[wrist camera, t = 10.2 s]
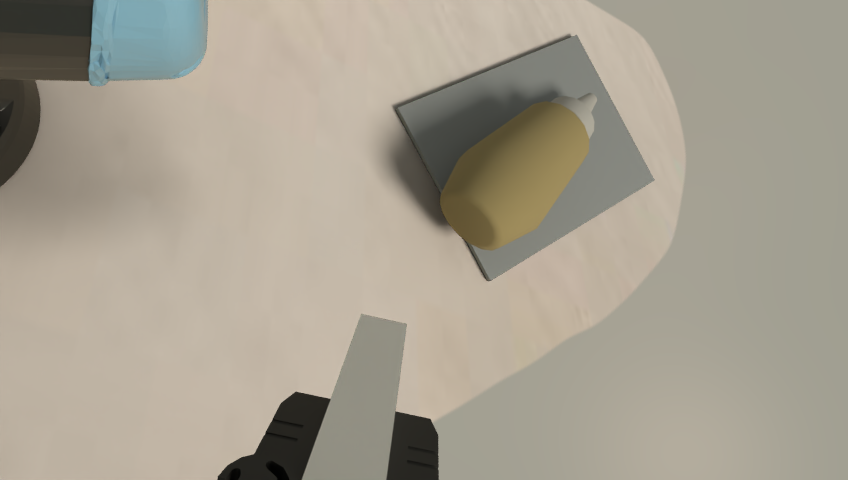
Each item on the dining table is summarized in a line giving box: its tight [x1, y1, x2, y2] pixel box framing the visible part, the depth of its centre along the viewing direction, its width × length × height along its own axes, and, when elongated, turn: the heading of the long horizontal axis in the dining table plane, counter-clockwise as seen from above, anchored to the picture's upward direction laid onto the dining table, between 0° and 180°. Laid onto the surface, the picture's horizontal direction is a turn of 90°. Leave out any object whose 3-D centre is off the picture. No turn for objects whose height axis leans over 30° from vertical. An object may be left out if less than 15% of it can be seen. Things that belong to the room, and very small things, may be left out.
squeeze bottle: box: [440, 93, 597, 251], centre depth 35 cm, size 8×8×18 cm
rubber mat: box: [396, 35, 654, 281], centre depth 40 cm, size 16×21×1 cm
